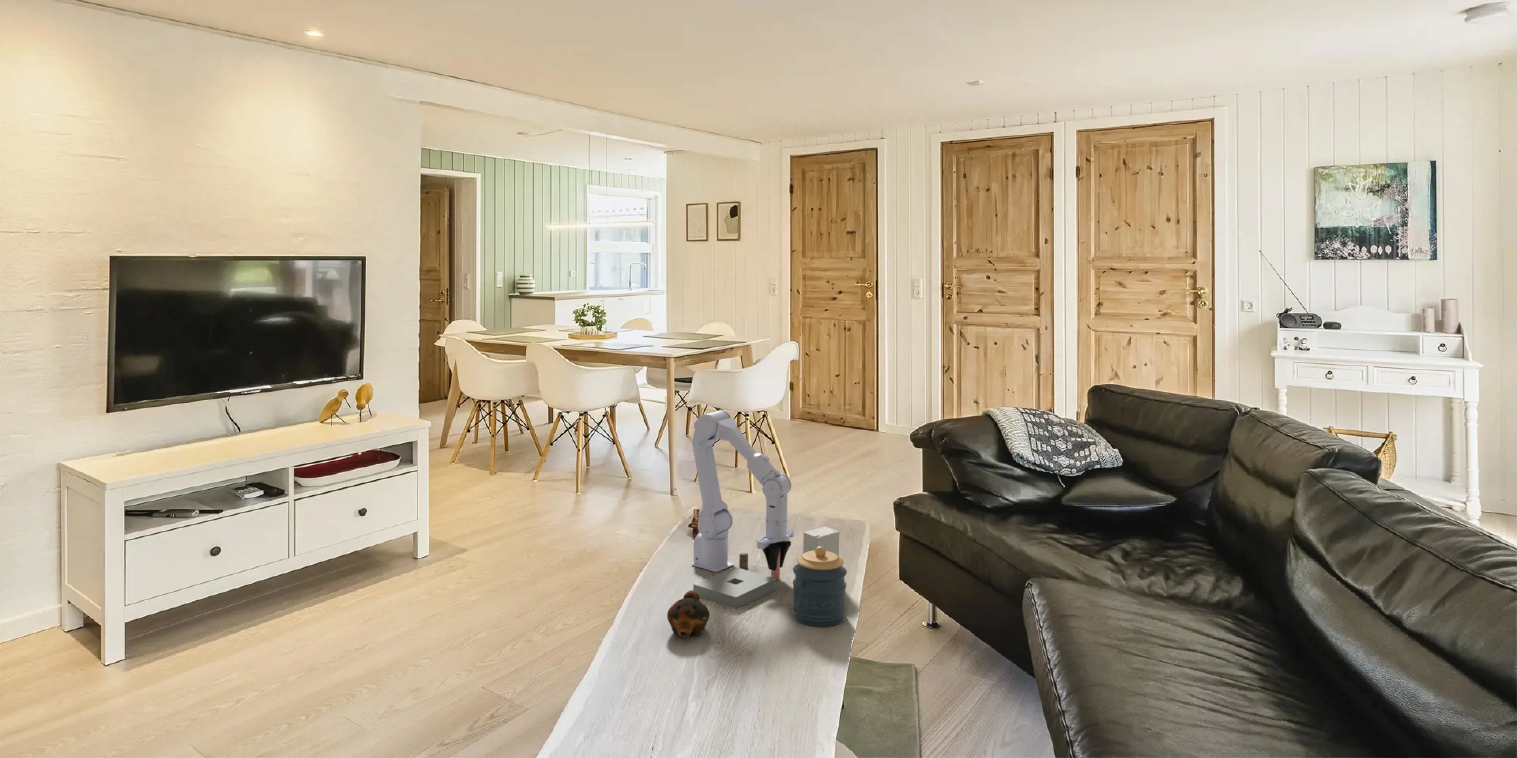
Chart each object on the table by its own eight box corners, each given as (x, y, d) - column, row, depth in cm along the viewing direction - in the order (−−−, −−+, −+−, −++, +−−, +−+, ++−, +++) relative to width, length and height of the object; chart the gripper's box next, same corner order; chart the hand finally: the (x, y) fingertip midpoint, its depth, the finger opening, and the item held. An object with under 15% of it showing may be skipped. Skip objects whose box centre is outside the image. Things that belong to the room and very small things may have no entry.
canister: (812, 602, 214) (814, 534, 212) (855, 616, 206) (858, 546, 204) (781, 617, 204) (782, 547, 202) (825, 632, 196) (827, 559, 194)
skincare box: (823, 578, 232) (825, 525, 230) (839, 584, 227) (840, 530, 225) (801, 584, 226) (802, 530, 225) (816, 591, 222) (817, 536, 220)
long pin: (769, 578, 231) (769, 550, 230) (774, 576, 232) (774, 548, 231) (776, 580, 229) (776, 552, 228) (781, 578, 231) (782, 550, 230)
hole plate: (693, 595, 218) (693, 584, 217) (734, 577, 231) (734, 566, 231) (735, 609, 209) (735, 597, 209) (776, 589, 223) (776, 578, 222)
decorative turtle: (709, 618, 203) (711, 587, 202) (707, 650, 188) (709, 616, 187) (668, 616, 203) (670, 585, 201) (663, 647, 188) (665, 614, 187)
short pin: (737, 569, 237) (737, 554, 237) (742, 567, 239) (743, 552, 238) (744, 571, 236) (744, 556, 235) (749, 569, 238) (749, 554, 237)
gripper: (772, 528, 221) (771, 578, 222) (803, 516, 232) (802, 564, 234) (751, 523, 225) (750, 572, 227) (782, 512, 236) (781, 559, 238)
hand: (775, 568), depth 230 cm, fingers closed on long pin, 2 cm apart
